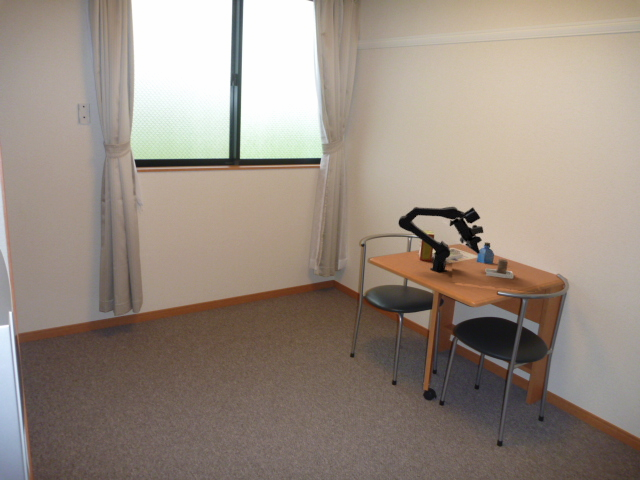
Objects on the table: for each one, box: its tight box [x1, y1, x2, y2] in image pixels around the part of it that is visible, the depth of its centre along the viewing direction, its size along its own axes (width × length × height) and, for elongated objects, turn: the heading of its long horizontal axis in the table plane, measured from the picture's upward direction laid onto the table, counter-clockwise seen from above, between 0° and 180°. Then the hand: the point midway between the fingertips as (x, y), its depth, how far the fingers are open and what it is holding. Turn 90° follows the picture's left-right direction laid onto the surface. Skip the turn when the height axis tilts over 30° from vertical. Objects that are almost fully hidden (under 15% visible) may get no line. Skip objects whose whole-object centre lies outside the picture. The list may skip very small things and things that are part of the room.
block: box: [496, 258, 508, 274], centre depth 248 cm, size 4×4×8 cm
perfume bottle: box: [476, 242, 495, 265], centre depth 271 cm, size 6×6×12 cm
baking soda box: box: [418, 229, 435, 262], centre depth 275 cm, size 10×6×16 cm
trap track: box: [485, 268, 514, 280], centre depth 249 cm, size 13×7×3 cm, turn 75°
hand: (478, 253), depth 250 cm, fingers closed
